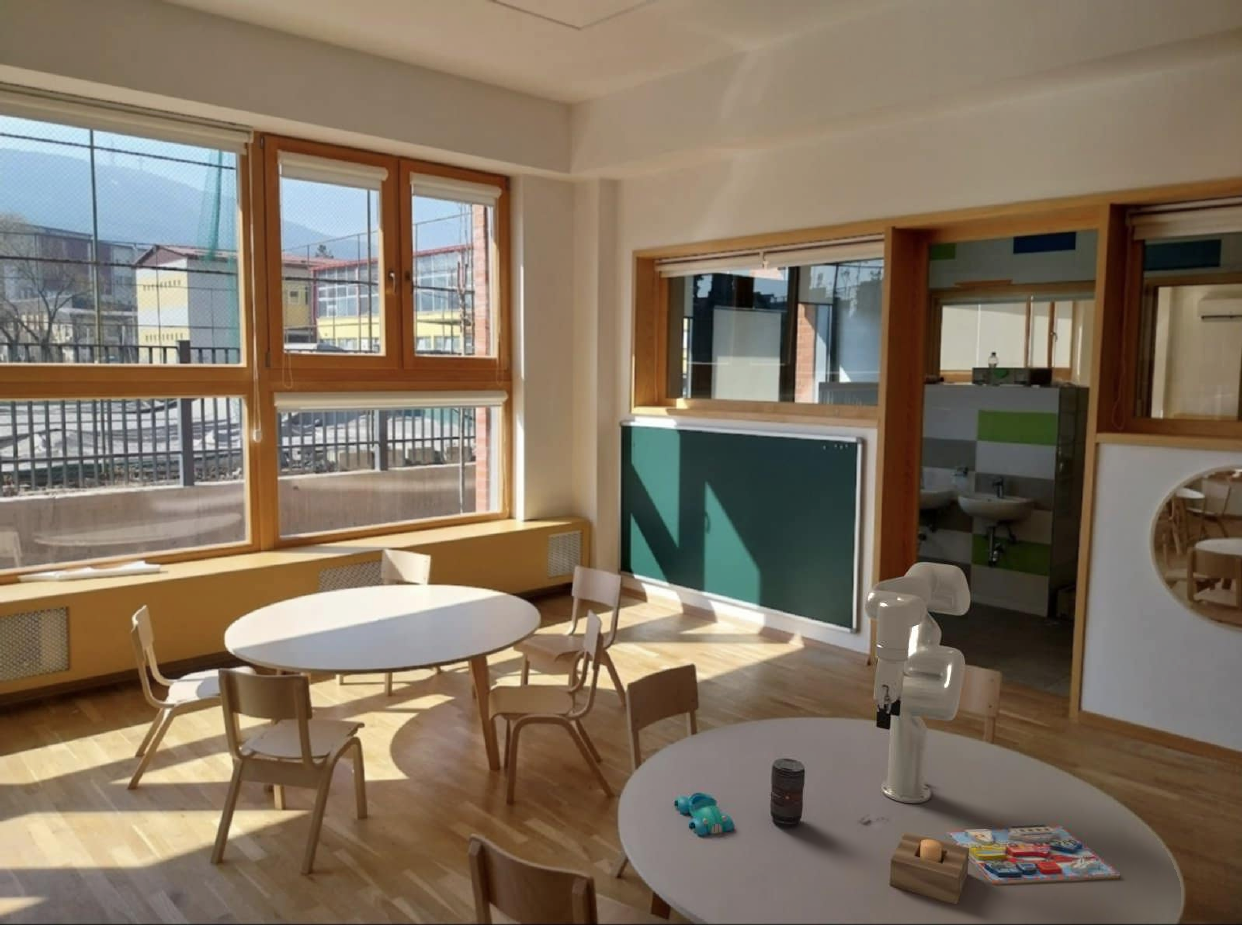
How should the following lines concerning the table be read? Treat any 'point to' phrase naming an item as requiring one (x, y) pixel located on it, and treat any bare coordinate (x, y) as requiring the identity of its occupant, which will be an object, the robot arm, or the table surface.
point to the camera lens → (787, 792)
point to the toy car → (704, 814)
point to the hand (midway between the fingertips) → (888, 721)
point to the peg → (931, 850)
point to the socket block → (929, 869)
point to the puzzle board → (1031, 855)
